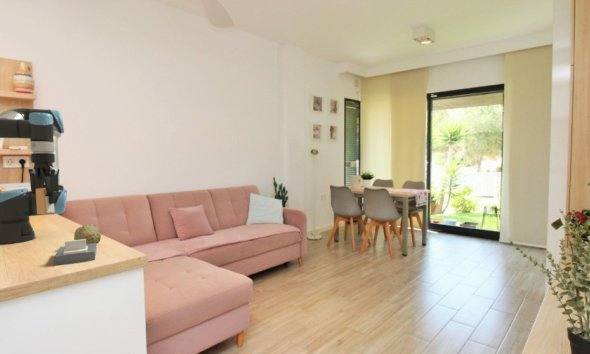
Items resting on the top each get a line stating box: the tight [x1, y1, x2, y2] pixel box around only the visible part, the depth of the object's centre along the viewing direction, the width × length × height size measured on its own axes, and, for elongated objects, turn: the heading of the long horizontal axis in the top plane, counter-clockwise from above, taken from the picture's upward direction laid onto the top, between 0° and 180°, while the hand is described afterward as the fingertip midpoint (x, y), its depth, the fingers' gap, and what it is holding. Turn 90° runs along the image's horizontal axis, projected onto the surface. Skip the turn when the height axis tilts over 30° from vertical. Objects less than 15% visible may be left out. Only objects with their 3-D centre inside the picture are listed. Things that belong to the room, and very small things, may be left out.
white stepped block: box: [63, 239, 88, 255], centre depth 123 cm, size 7×7×4 cm
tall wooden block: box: [36, 188, 55, 216], centre depth 133 cm, size 4×4×10 cm
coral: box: [73, 222, 102, 245], centre depth 143 cm, size 10×10×10 cm
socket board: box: [54, 243, 97, 266], centre depth 127 cm, size 15×12×3 cm
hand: (45, 211), depth 133 cm, fingers closed on tall wooden block, 4 cm apart
